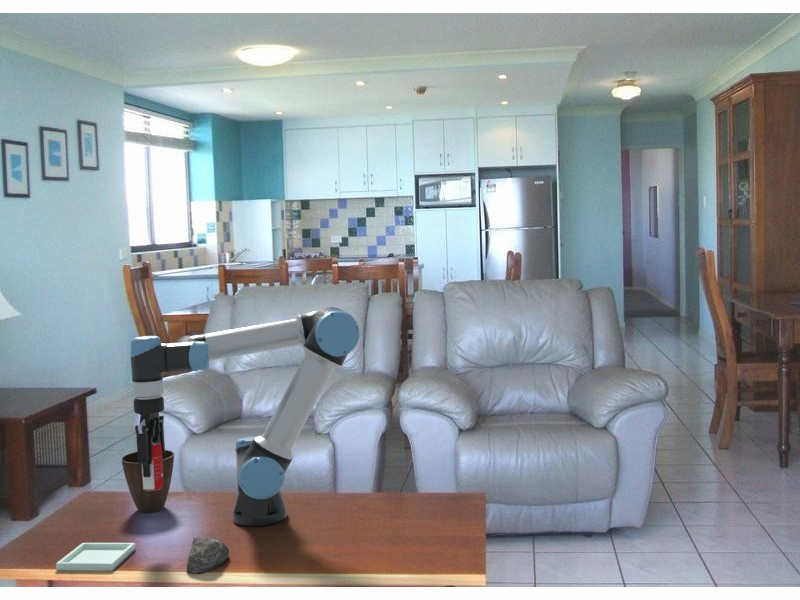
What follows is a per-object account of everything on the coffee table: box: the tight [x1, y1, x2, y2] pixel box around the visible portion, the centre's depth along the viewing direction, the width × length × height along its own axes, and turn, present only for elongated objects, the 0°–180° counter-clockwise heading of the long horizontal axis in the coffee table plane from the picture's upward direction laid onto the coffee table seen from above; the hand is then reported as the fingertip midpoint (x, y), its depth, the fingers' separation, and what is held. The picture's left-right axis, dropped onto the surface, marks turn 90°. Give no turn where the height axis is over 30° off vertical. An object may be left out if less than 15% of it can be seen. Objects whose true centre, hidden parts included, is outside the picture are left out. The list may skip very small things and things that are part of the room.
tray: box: [55, 542, 137, 572], centre depth 214 cm, size 14×14×2 cm
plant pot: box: [120, 449, 175, 514], centre depth 253 cm, size 15×15×16 cm
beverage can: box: [142, 441, 164, 491], centre depth 222 cm, size 5×5×12 cm
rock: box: [186, 537, 230, 575], centre depth 209 cm, size 13×9×6 cm, turn 179°
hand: (153, 485), depth 223 cm, fingers closed on beverage can, 5 cm apart
